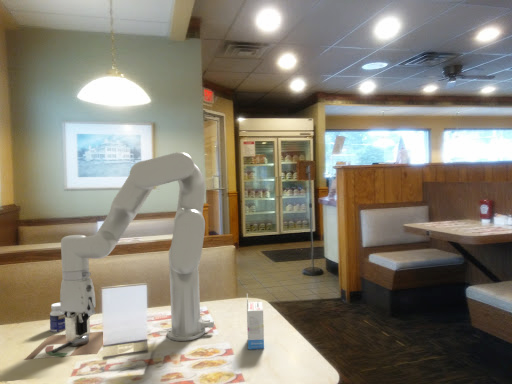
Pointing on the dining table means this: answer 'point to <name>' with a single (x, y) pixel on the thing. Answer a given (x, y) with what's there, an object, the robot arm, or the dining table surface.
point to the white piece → (74, 333)
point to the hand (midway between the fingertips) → (78, 332)
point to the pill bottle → (57, 318)
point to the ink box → (255, 325)
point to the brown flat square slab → (58, 340)
